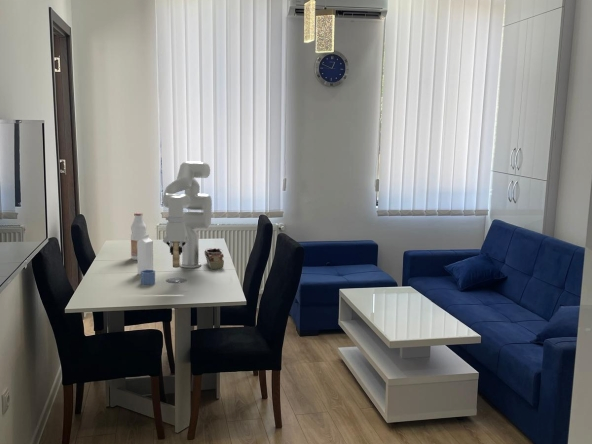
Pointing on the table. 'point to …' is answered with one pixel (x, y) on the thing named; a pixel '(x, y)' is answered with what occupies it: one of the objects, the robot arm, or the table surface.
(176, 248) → the wooden pestle
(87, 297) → the table surface
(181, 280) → the coaster
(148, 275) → the cup
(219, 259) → the decorative box
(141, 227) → the fruit juice
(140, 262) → the milk
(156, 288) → the table surface
